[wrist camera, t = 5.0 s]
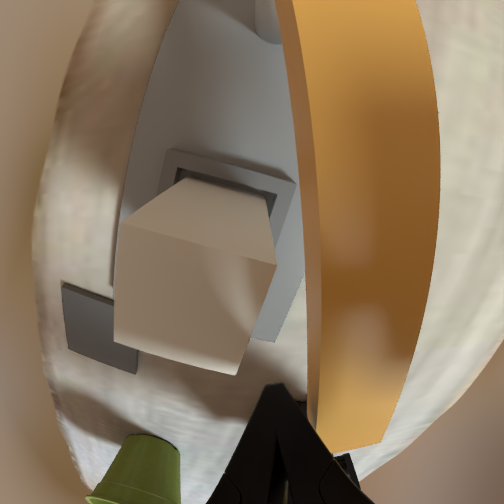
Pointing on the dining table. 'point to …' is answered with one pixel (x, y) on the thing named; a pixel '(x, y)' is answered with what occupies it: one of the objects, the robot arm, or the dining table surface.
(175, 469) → the plant pot
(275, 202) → the socket board
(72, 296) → the rubber pad
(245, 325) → the plug
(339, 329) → the bar
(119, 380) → the dining table surface
